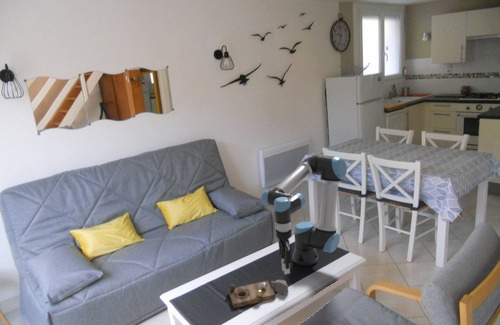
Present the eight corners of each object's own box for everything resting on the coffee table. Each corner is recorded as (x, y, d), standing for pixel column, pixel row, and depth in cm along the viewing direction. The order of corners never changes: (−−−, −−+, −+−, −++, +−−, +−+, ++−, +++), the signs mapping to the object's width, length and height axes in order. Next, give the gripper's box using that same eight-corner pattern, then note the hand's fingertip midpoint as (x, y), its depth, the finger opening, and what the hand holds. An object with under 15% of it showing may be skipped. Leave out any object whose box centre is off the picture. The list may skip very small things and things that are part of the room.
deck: (267, 284, 208) (267, 280, 207) (275, 298, 196) (275, 294, 195) (228, 293, 203) (228, 289, 202) (233, 308, 191) (233, 303, 190)
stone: (293, 290, 202) (292, 280, 200) (283, 297, 197) (282, 287, 195) (279, 283, 209) (279, 273, 207) (269, 289, 204) (268, 280, 202)
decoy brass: (261, 293, 197) (261, 287, 196) (263, 297, 193) (263, 291, 192) (255, 295, 196) (254, 289, 195) (257, 299, 193) (256, 293, 192)
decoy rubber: (235, 287, 204) (234, 281, 203) (236, 291, 200) (235, 285, 199) (228, 289, 203) (228, 283, 202) (230, 292, 199) (229, 287, 198)
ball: (266, 286, 202) (265, 280, 201) (268, 290, 199) (267, 284, 198) (259, 287, 202) (259, 282, 201) (261, 291, 198) (261, 285, 197)
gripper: (271, 223, 189) (274, 265, 196) (281, 237, 175) (284, 281, 181) (285, 221, 191) (287, 262, 197) (296, 234, 176) (298, 278, 183)
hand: (286, 271), depth 189 cm, fingers open, 3 cm apart
